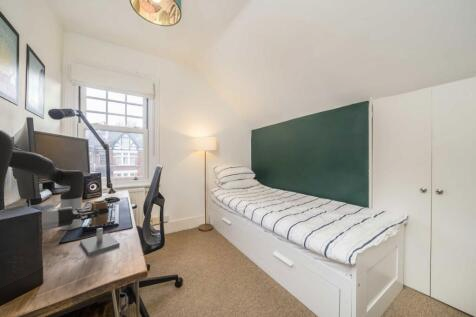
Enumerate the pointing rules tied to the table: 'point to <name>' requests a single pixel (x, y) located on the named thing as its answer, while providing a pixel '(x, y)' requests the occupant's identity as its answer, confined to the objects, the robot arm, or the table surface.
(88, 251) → the plate
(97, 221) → the sleeve
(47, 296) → the table surface
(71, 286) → the table surface
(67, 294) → the table surface
